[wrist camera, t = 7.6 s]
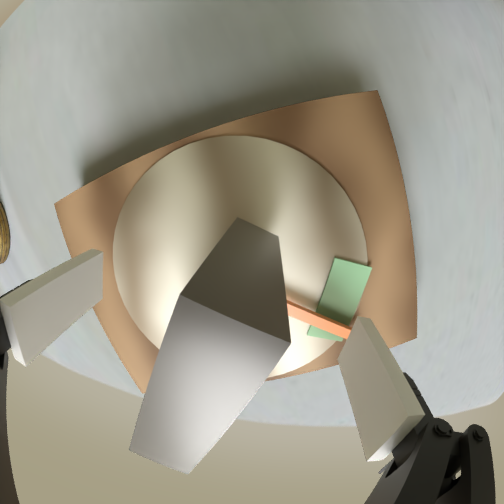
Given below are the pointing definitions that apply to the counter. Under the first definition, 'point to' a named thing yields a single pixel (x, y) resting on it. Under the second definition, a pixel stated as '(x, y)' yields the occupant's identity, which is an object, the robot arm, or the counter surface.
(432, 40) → the counter surface
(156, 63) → the counter surface
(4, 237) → the wooden mug
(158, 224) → the board
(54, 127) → the counter surface
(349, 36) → the counter surface
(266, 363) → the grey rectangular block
